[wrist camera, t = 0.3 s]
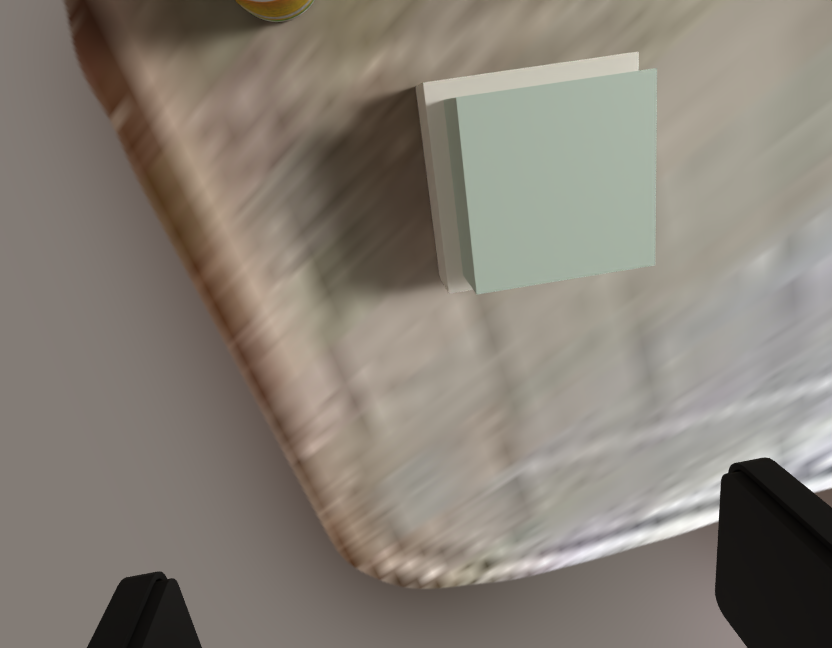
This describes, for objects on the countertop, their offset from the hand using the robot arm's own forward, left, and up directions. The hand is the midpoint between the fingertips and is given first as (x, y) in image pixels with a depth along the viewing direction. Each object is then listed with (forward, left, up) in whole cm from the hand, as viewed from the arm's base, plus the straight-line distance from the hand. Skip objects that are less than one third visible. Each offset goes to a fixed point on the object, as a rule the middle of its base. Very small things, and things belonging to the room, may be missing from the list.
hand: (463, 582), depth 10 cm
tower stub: (-3, +10, -30) cm, 31 cm away
